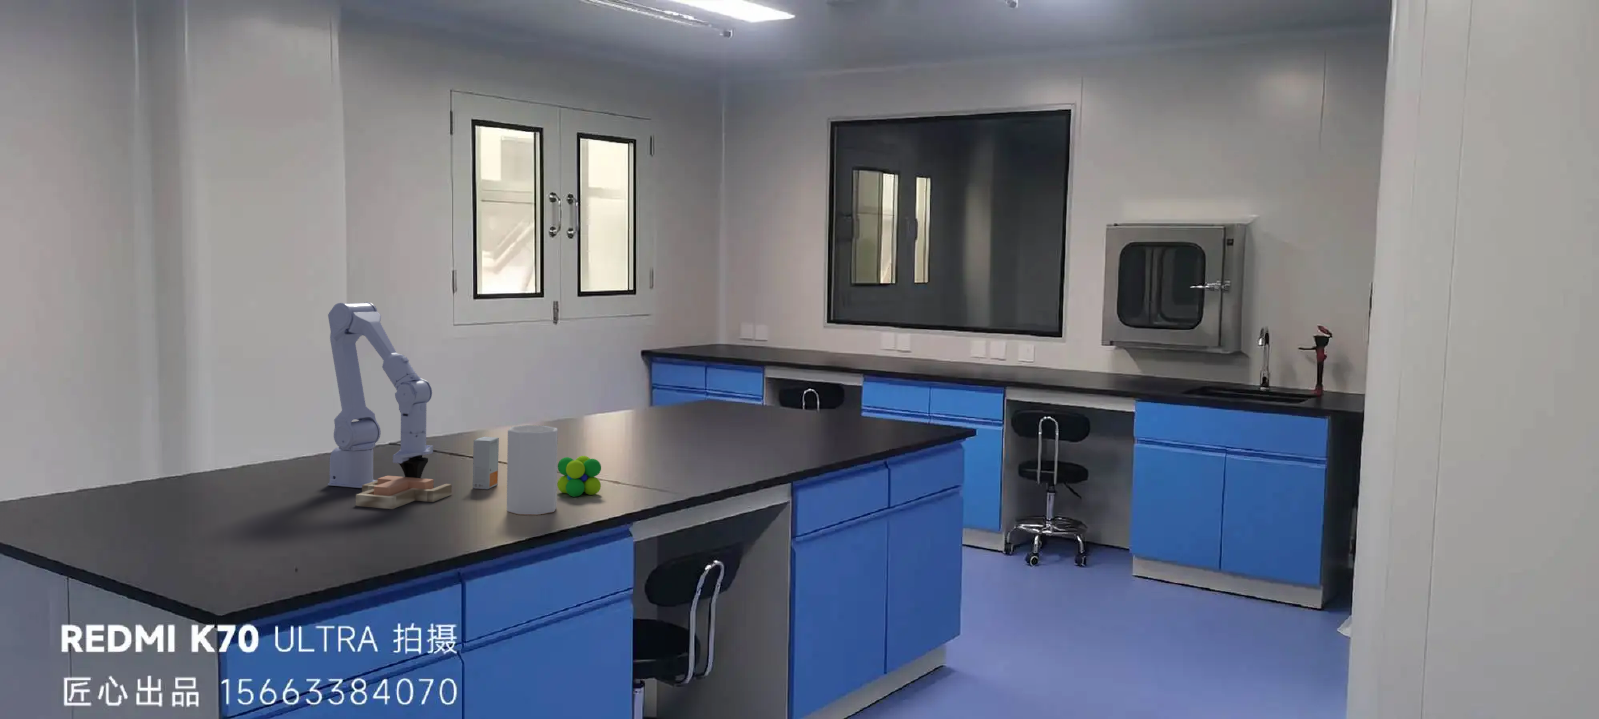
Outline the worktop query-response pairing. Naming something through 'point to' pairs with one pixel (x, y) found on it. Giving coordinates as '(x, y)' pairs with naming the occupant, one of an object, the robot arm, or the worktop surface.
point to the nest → (400, 496)
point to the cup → (532, 469)
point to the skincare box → (485, 462)
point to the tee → (400, 484)
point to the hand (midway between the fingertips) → (413, 488)
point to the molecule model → (579, 476)
